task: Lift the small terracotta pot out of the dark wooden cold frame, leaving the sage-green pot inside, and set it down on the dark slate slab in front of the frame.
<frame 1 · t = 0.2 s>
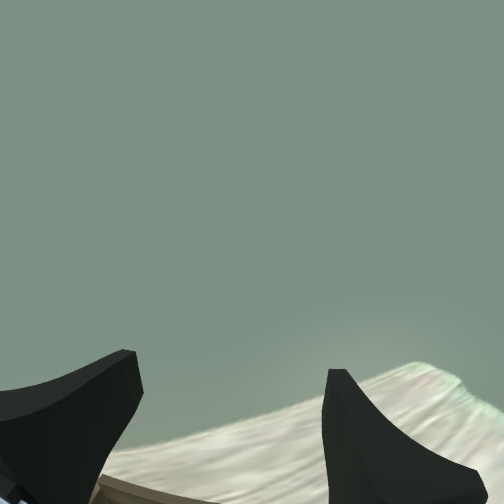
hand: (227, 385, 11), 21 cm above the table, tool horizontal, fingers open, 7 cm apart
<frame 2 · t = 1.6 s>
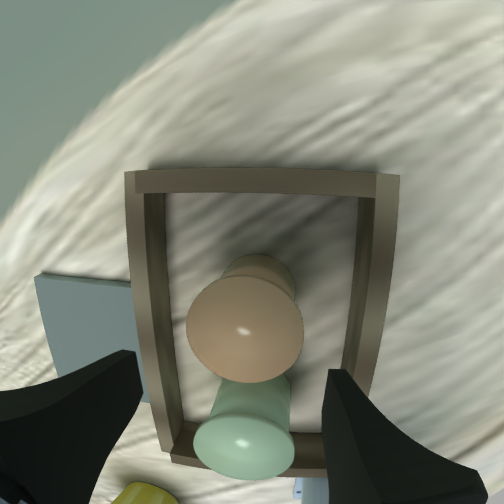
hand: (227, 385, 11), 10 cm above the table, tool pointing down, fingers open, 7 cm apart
cold frame: (256, 332, 21), on the table
plant pot 2: (153, 495, 29), on the table
slate slab: (95, 336, 23), on the table
green pot: (255, 390, 23), resting in cold frame
terracotta pot: (257, 290, 21), resting in cold frame
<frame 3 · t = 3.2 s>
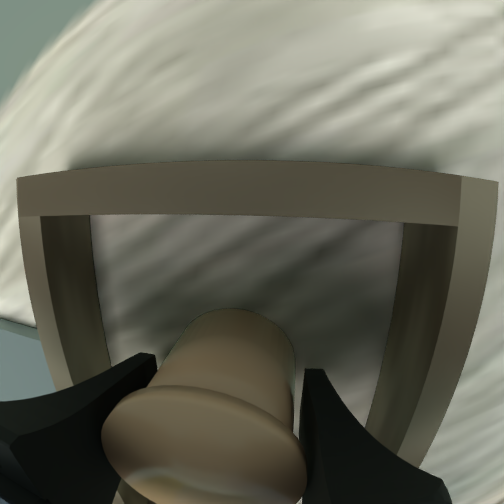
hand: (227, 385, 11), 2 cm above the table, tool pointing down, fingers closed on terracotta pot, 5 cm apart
cold frame: (236, 415, 13), on the table
slate slab: (34, 392, 15), on the table
terracotta pot: (235, 361, 13), resting in cold frame, touching gripper
when the fingers open (4 cm above the table, at t = 7.5 s): terracotta pot stays where it is, resting on slate slab.
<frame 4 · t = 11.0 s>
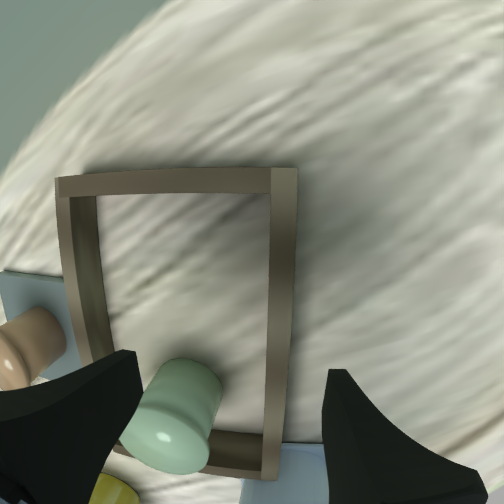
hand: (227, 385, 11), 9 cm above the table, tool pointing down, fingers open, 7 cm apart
cold frame: (182, 329, 21), on the table
plant pot 2: (115, 487, 29), on the table
slate slab: (48, 329, 23), on the table
green pot: (188, 386, 23), resting in cold frame
terracotta pot: (45, 332, 22), point 1 cm above the table, touching slate slab
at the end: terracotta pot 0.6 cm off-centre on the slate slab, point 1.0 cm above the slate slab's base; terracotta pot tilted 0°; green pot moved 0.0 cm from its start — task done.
